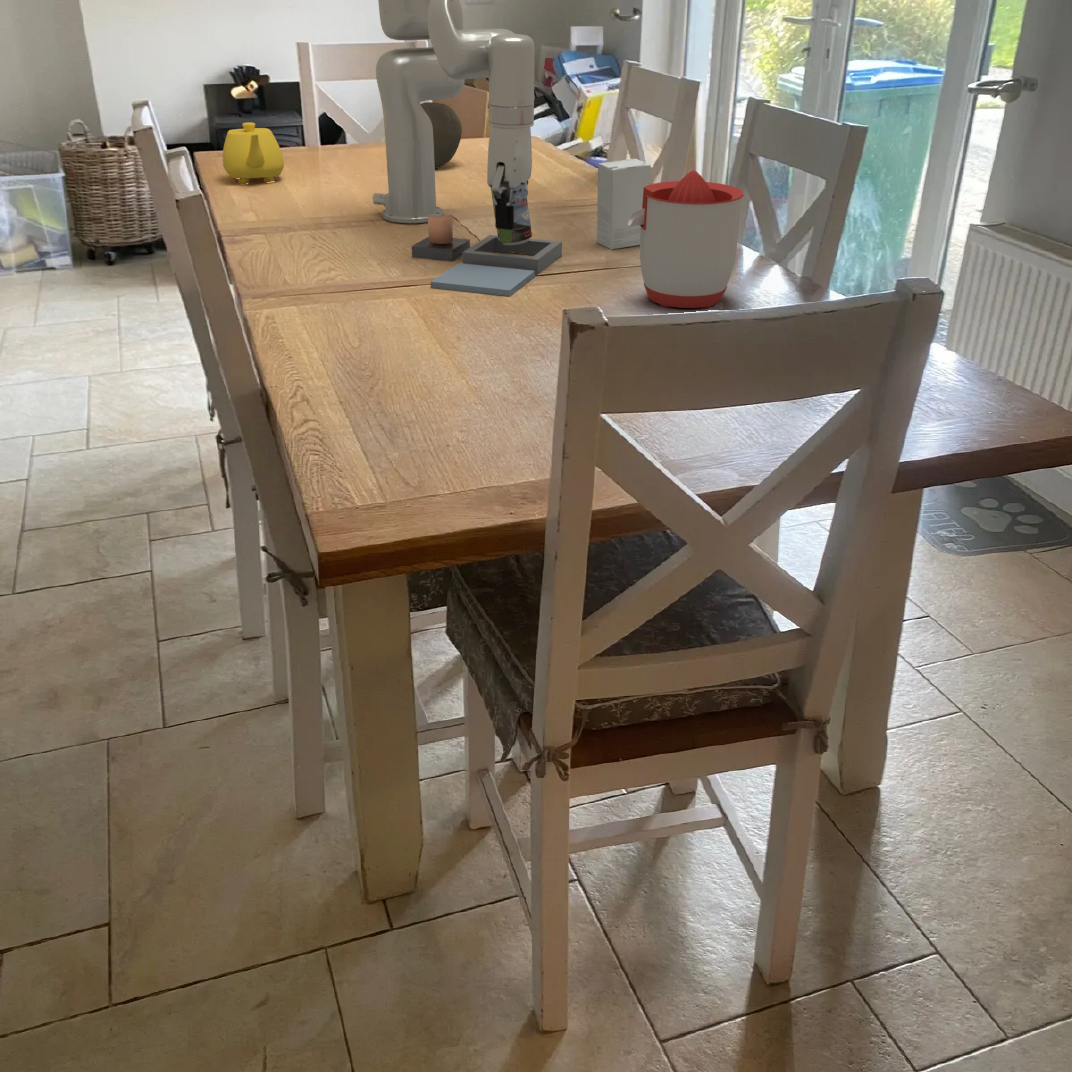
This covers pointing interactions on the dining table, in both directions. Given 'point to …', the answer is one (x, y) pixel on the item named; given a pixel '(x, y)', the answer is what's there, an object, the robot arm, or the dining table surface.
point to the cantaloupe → (443, 131)
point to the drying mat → (483, 279)
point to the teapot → (252, 154)
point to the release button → (440, 229)
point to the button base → (440, 249)
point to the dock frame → (541, 250)
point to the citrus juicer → (688, 240)
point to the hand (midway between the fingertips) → (511, 223)
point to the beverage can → (516, 218)
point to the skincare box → (620, 201)
